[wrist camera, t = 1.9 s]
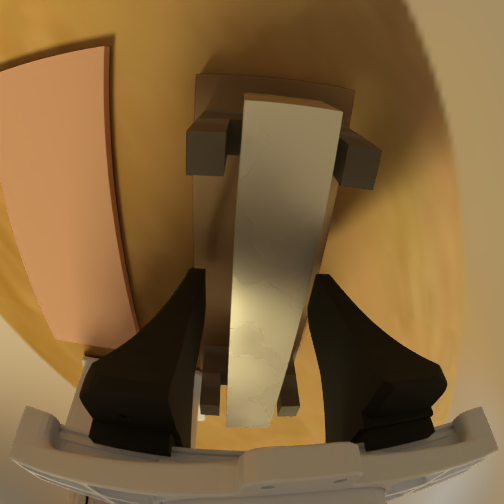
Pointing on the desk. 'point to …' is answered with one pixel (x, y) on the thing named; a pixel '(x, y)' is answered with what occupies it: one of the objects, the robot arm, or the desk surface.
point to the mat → (66, 195)
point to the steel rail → (275, 242)
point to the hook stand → (225, 197)
